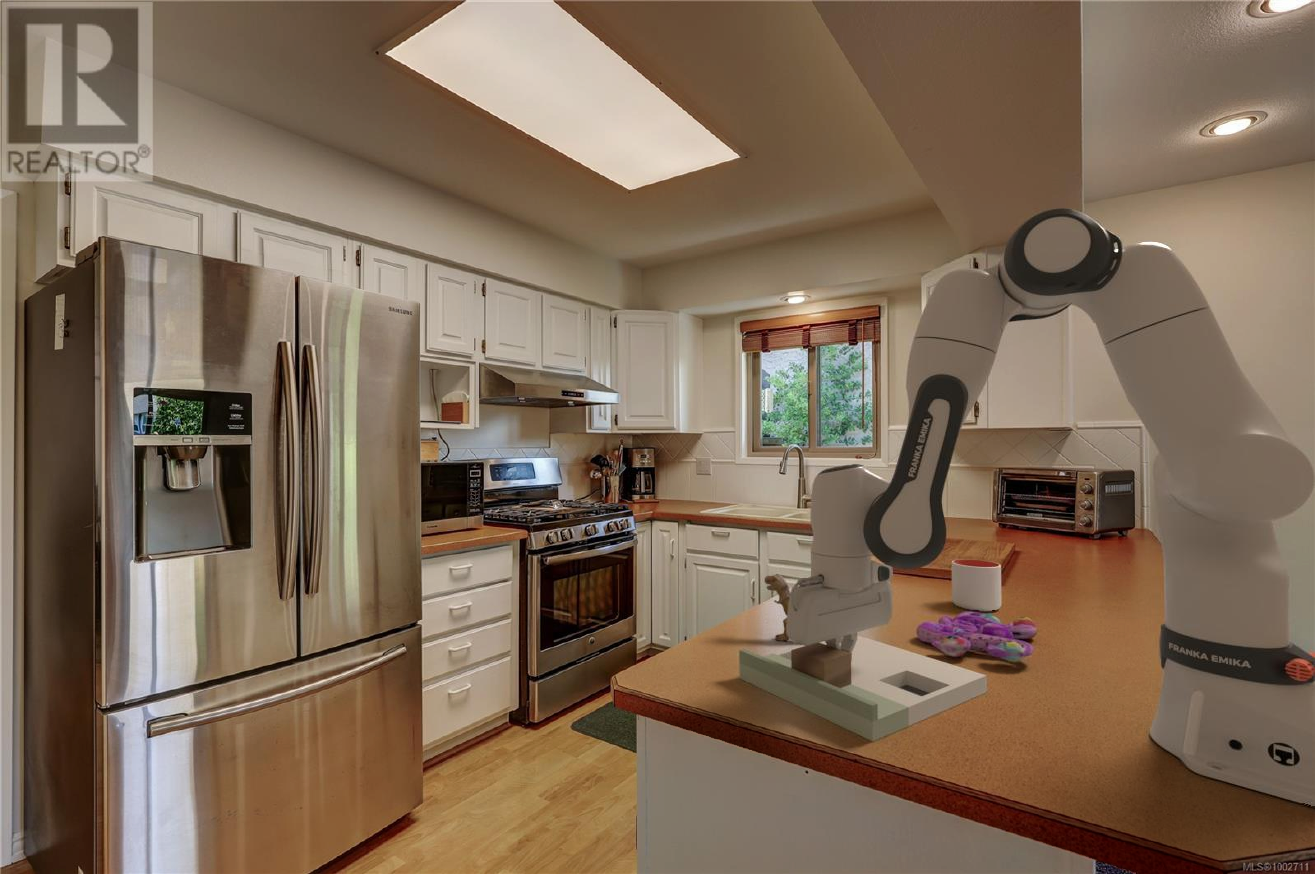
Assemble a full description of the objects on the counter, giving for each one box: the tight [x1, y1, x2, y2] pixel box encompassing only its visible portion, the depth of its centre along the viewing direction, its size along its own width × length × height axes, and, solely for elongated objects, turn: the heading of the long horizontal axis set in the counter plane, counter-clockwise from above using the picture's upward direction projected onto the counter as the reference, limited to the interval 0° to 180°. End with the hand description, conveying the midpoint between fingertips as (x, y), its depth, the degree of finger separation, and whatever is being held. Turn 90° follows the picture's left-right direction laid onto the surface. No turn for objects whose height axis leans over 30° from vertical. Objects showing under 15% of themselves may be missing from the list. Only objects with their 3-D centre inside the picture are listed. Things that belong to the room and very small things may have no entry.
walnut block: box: [791, 643, 851, 688], centre depth 89 cm, size 6×6×4 cm
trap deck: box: [738, 634, 988, 742], centre depth 94 cm, size 25×27×4 cm
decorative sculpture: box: [915, 611, 1038, 663], centre depth 113 cm, size 29×5×20 cm
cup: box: [951, 558, 1002, 612], centre depth 139 cm, size 10×10×10 cm
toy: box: [764, 573, 791, 641], centre depth 116 cm, size 7×17×10 cm
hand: (841, 663), depth 92 cm, fingers closed
